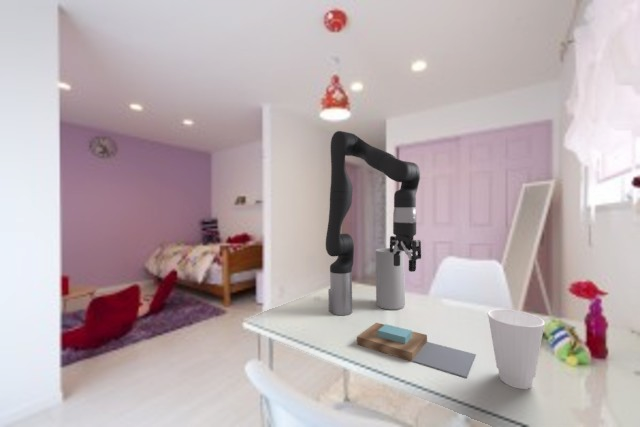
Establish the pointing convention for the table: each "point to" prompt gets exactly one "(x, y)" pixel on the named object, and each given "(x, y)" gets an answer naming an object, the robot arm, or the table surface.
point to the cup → (516, 345)
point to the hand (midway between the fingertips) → (404, 268)
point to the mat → (445, 359)
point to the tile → (395, 333)
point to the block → (392, 343)
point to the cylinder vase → (389, 280)
